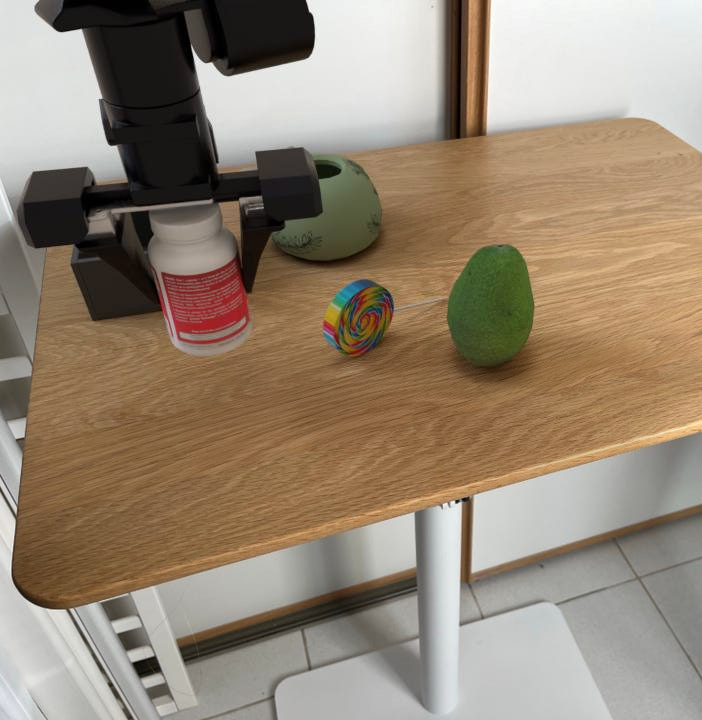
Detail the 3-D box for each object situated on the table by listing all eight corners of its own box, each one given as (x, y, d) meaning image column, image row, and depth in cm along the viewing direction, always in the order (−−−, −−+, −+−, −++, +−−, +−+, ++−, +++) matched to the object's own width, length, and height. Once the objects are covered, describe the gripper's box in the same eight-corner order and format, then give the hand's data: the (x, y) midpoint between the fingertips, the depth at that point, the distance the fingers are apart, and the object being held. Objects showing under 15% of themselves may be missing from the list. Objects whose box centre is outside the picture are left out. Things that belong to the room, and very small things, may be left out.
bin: (92, 320, 72) (69, 263, 68) (101, 253, 81) (81, 199, 77) (222, 301, 75) (209, 245, 71) (218, 239, 84) (205, 185, 80)
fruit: (547, 358, 70) (561, 249, 62) (487, 397, 66) (492, 285, 58) (489, 319, 74) (495, 213, 66) (429, 353, 70) (427, 244, 62)
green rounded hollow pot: (404, 248, 84) (401, 177, 78) (296, 282, 78) (284, 208, 72) (342, 188, 94) (335, 122, 88) (242, 215, 88) (228, 145, 82)
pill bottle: (269, 332, 59) (249, 208, 52) (204, 370, 55) (172, 242, 48) (219, 301, 62) (194, 179, 55) (154, 335, 58) (117, 209, 51)
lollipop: (441, 332, 78) (328, 364, 67) (432, 326, 78) (317, 356, 67) (456, 269, 74) (339, 292, 63) (446, 263, 75) (329, 285, 64)
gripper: (292, 39, 54) (316, 227, 64) (7, 56, 50) (81, 254, 60) (310, 98, 46) (334, 302, 56) (-28, 124, 42) (64, 340, 52)
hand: (204, 296), depth 56 cm, fingers closed on pill bottle, 6 cm apart
